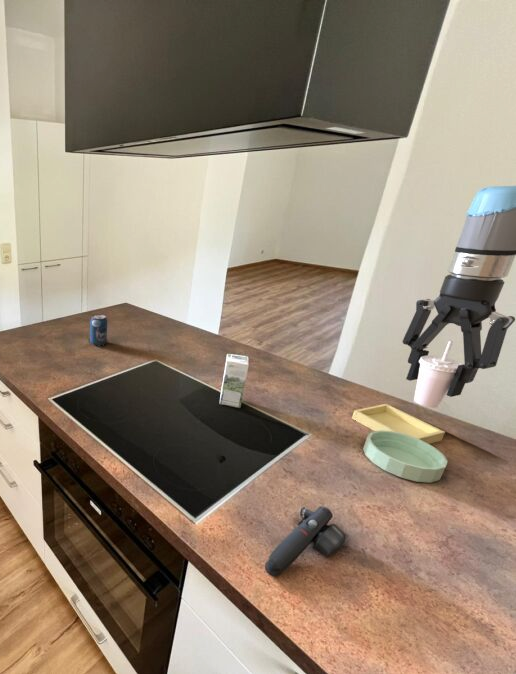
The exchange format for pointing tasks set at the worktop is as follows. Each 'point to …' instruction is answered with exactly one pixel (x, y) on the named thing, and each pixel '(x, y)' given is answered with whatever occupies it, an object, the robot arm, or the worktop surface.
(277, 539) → the worktop surface
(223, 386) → the syrup box
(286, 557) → the can opener
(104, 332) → the soda can
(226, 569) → the worktop surface
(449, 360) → the smoothie
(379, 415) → the tray
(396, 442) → the bowl
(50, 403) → the worktop surface
